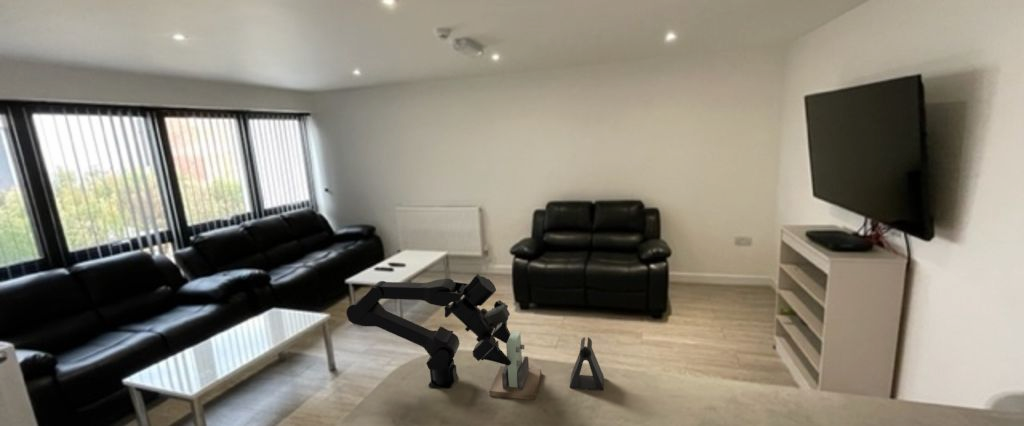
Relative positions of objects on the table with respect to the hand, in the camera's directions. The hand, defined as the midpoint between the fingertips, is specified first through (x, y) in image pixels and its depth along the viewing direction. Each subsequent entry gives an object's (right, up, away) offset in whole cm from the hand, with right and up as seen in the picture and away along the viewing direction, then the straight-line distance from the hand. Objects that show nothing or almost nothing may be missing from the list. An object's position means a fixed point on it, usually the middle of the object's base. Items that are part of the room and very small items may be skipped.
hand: (513, 354), depth 116 cm
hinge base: (+1, -9, +2) cm, 9 cm away
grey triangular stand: (+20, -8, +1) cm, 22 cm away
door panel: (+1, -7, +1) cm, 8 cm away
